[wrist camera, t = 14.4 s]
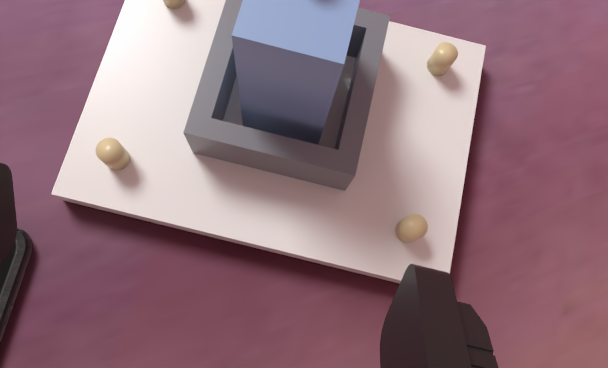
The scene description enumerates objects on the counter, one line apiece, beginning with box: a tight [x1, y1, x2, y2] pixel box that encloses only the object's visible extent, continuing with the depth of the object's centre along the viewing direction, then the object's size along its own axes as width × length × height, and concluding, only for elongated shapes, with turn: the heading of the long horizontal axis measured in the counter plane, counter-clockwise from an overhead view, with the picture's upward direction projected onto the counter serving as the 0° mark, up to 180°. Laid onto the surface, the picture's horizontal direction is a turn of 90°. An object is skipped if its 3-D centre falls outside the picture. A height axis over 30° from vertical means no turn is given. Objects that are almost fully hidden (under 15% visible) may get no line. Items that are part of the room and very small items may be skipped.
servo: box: [232, 0, 360, 145], centre depth 21 cm, size 4×4×10 cm
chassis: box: [51, 0, 486, 284], centre depth 25 cm, size 20×14×4 cm
